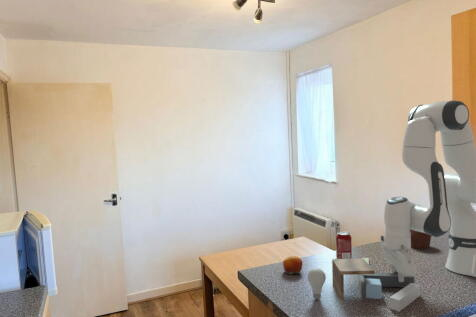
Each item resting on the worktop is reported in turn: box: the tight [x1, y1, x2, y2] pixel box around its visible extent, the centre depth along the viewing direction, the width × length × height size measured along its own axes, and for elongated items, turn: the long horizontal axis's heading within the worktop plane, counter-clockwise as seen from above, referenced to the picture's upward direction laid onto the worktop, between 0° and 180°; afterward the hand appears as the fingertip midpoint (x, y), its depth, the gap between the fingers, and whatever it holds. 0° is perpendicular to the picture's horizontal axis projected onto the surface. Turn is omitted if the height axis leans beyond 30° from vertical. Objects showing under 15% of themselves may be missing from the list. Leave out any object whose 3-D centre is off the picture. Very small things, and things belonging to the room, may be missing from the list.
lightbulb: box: [307, 267, 327, 301], centre depth 124 cm, size 6×6×11 cm
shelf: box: [331, 258, 376, 301], centre depth 128 cm, size 12×12×10 cm
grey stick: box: [389, 282, 421, 313], centre depth 120 cm, size 16×3×4 cm, turn 131°
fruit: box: [282, 255, 303, 276], centre depth 149 cm, size 8×8×8 cm
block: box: [365, 278, 383, 300], centre depth 126 cm, size 5×5×5 cm
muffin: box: [410, 229, 432, 250], centre depth 177 cm, size 12×11×10 cm
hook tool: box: [357, 272, 416, 298], centre depth 128 cm, size 19×13×4 cm
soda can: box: [335, 230, 353, 259], centre depth 163 cm, size 7×7×12 cm
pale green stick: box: [362, 257, 370, 265], centre depth 154 cm, size 14×2×2 cm, turn 162°
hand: (397, 278), depth 132 cm, fingers closed on hook tool, 3 cm apart
